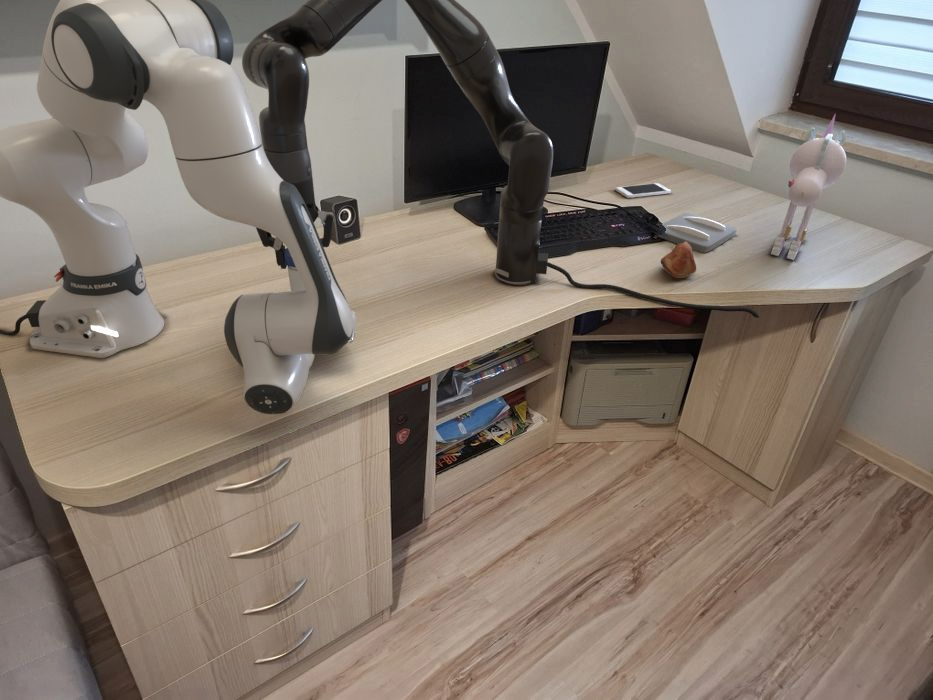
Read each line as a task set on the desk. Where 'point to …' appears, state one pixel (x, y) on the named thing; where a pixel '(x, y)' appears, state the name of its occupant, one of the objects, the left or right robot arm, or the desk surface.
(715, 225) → the light switch
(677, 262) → the fossil
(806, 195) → the toy
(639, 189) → the smartphone
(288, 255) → the lid
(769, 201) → the desk surface
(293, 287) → the jar
